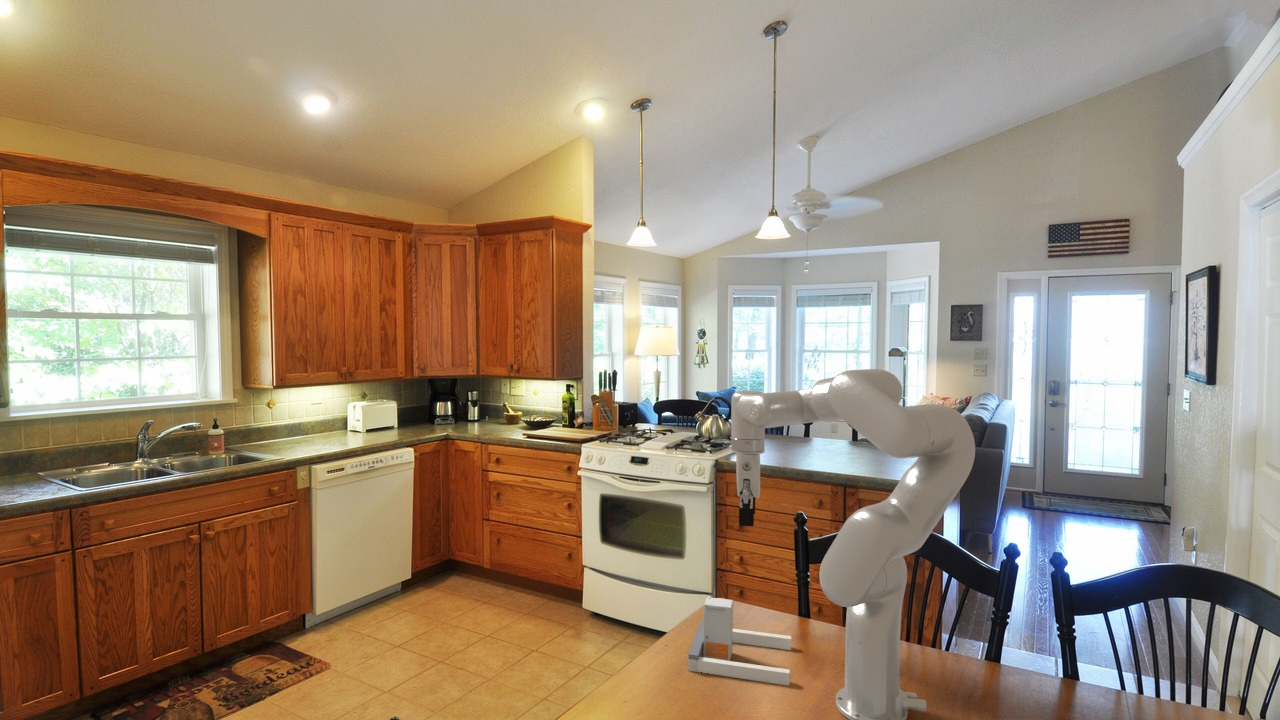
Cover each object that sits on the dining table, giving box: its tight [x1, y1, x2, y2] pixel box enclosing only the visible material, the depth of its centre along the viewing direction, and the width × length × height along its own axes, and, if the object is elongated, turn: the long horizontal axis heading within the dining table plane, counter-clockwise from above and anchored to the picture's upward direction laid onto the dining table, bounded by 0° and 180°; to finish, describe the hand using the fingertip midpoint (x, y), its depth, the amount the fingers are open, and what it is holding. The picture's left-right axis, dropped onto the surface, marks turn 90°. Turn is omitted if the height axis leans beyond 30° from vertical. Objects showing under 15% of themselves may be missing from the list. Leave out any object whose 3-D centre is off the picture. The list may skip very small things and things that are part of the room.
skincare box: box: [703, 596, 734, 661], centre depth 136 cm, size 6×4×12 cm
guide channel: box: [687, 619, 792, 686], centre depth 135 cm, size 20×16×4 cm
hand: (747, 519), depth 142 cm, fingers open, 9 cm apart
